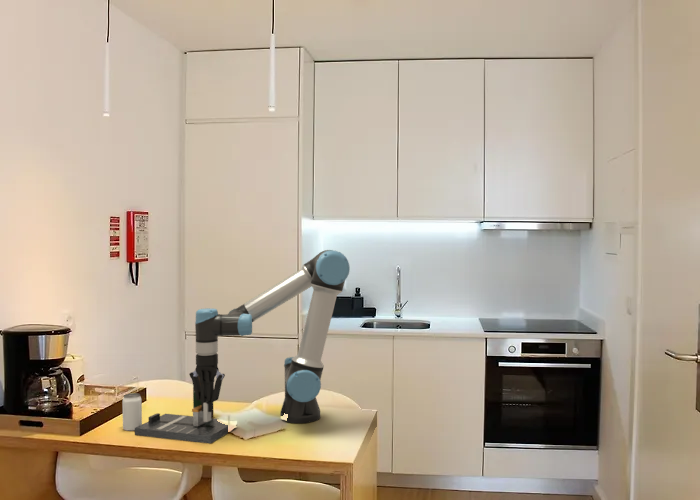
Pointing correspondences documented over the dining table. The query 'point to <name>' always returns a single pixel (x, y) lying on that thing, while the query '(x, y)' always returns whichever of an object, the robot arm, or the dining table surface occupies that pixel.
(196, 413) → the fader knob
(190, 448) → the dining table surface
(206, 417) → the robot arm
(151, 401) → the dining table surface
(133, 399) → the can
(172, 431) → the board
